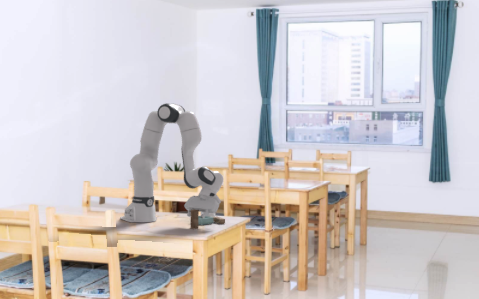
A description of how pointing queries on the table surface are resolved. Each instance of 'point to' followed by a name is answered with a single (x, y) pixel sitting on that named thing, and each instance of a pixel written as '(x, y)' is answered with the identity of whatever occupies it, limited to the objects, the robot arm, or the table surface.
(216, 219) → the wick
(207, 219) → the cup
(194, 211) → the stick
